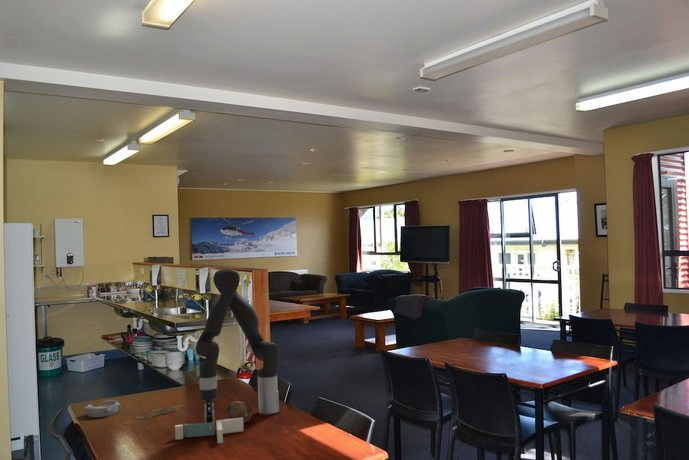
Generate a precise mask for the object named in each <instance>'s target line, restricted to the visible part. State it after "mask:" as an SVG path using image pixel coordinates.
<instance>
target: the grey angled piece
mask: <svg viewBox="0 0 689 460" xmlns="http://www.w3.org/2000/svg"><path fill="white" fill-rule="evenodd" d="M174 429H175V432H174V434H175V435H174V438H175V440H183V439H184V423H182V424H177V425H176V424H175V425H174ZM238 432H239V433H240V432H244V423H243V417H241V418H232V419H231V418H225V419H218V420H215V435H216V439H217V444H223V443H224V437H223V436H224V434H231V433H238Z"/></svg>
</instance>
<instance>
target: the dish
mask: <svg viewBox="0 0 689 460" xmlns="http://www.w3.org/2000/svg"><path fill="white" fill-rule="evenodd" d="M121 406H122V405H121V403H120V402H118V401H117V400H112V399H111V400H110V399H109V400H104V401H103V402H102V404H101V405H99V406H94V405H92V404H88V405H87V406H85V407H84V411H85V412H86V415H87V416H88V417H90V418H103V417H104V418H105V417H109V416H113V415H115V414H116V413H117V414H118V412H119V410H120V408H121Z"/></svg>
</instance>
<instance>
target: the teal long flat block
mask: <svg viewBox="0 0 689 460" xmlns="http://www.w3.org/2000/svg"><path fill="white" fill-rule="evenodd" d="M215 435H216V421H214V422H210V423H205V422H197V423H183V438H192V437H193V438H195V437H206V436H208V437H209V436H215Z"/></svg>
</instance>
